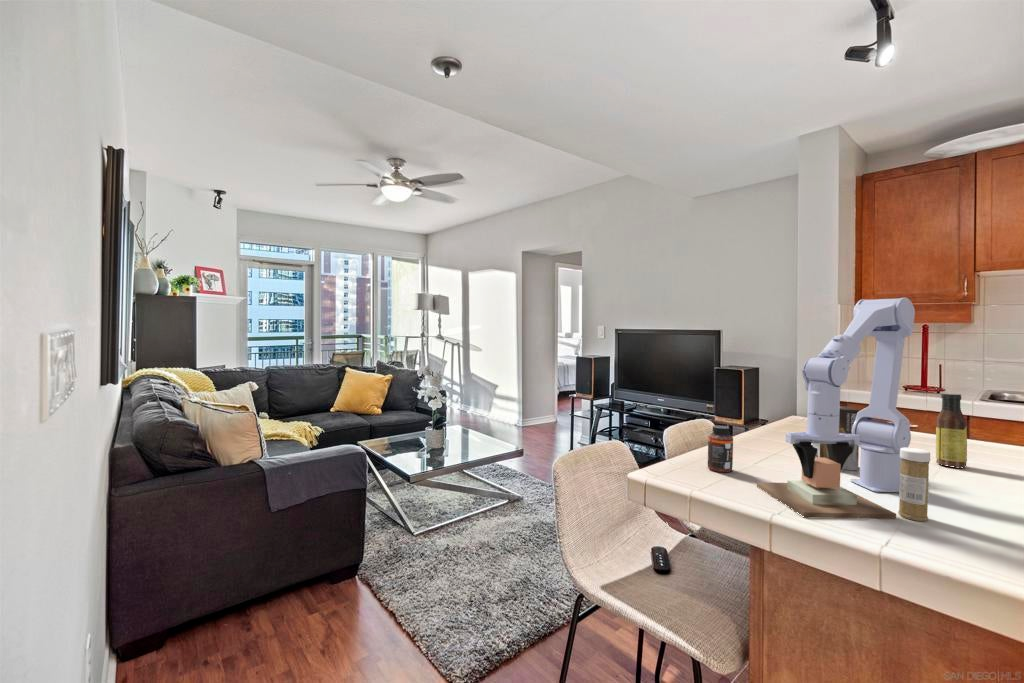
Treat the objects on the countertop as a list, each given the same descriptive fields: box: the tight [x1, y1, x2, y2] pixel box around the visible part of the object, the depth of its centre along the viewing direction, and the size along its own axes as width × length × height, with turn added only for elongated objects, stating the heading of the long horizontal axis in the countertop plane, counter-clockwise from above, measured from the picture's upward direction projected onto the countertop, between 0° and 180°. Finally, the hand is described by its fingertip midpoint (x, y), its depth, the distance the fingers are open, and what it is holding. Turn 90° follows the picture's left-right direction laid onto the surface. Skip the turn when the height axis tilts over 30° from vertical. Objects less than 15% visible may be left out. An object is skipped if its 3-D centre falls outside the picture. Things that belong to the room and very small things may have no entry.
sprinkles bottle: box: [897, 446, 931, 522], centre depth 94 cm, size 5×5×14 cm
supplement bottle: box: [707, 424, 734, 473], centre depth 124 cm, size 6×6×11 cm
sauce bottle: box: [935, 392, 968, 468], centre depth 130 cm, size 7×6×20 cm
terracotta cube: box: [801, 457, 842, 488], centre depth 102 cm, size 5×5×5 cm
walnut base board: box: [756, 479, 897, 520], centre depth 102 cm, size 18×18×3 cm
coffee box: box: [812, 405, 860, 471], centre depth 129 cm, size 9×6×16 cm
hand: (821, 477), depth 102 cm, fingers closed on terracotta cube, 5 cm apart
